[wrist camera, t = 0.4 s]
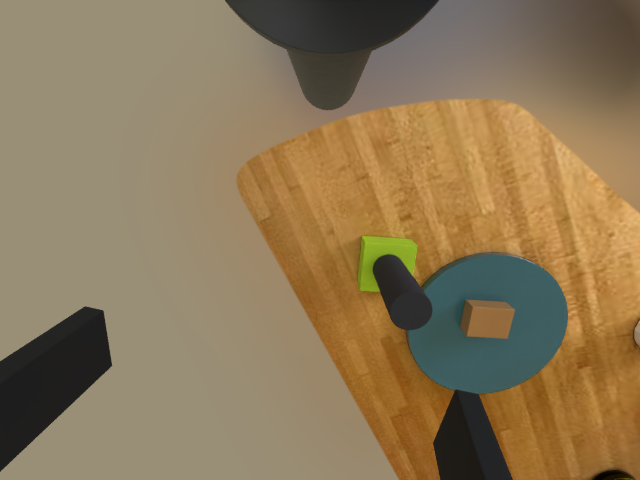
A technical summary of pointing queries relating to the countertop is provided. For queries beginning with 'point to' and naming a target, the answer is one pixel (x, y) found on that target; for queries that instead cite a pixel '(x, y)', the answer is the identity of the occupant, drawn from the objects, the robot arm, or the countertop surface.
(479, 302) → the brown rectangular block
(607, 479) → the supplement container
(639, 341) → the white cup
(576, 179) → the countertop surface
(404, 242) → the sponge wand
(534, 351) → the plate
